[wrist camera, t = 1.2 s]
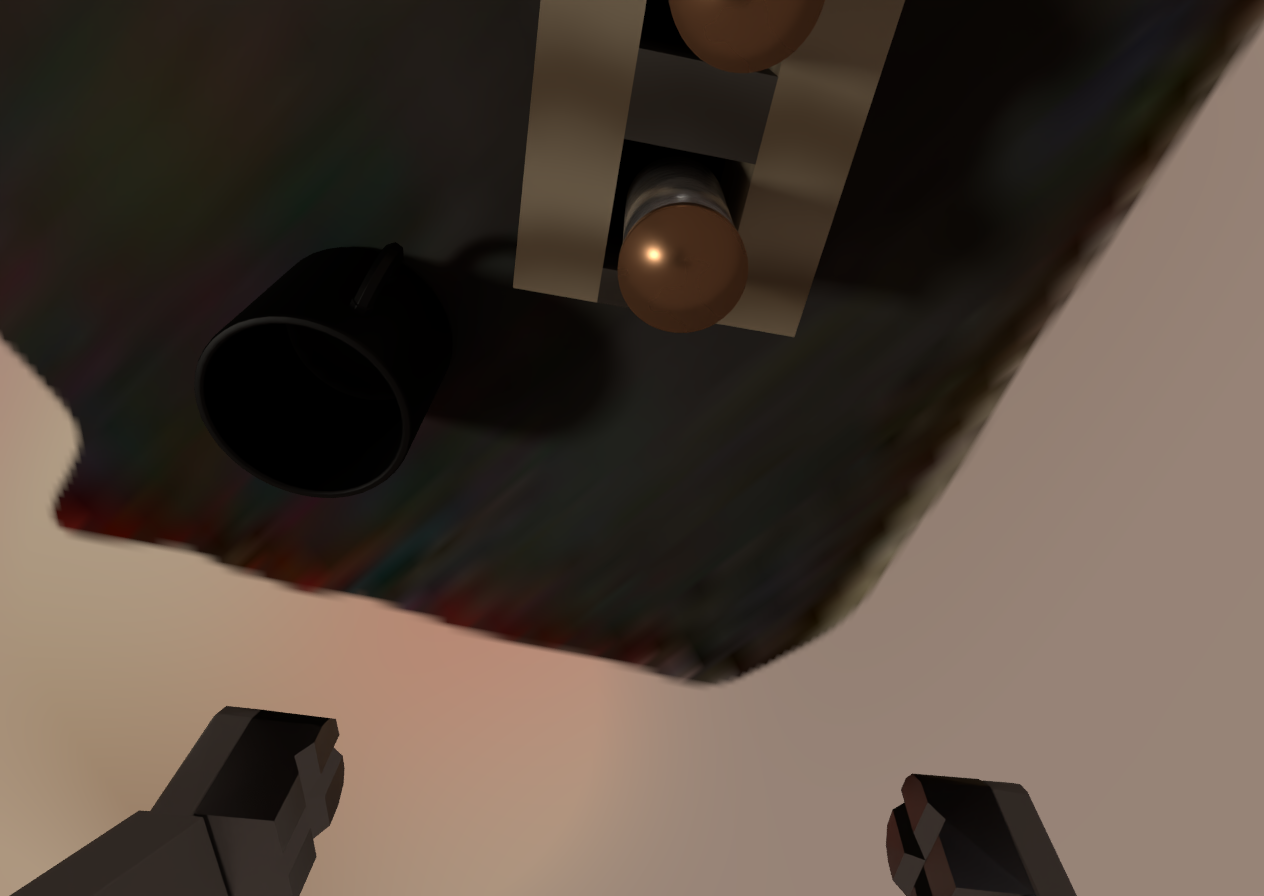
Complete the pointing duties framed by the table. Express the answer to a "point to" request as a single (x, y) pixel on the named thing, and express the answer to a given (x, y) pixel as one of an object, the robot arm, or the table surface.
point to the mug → (327, 373)
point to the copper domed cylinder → (744, 30)
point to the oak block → (693, 144)
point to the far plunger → (680, 248)
